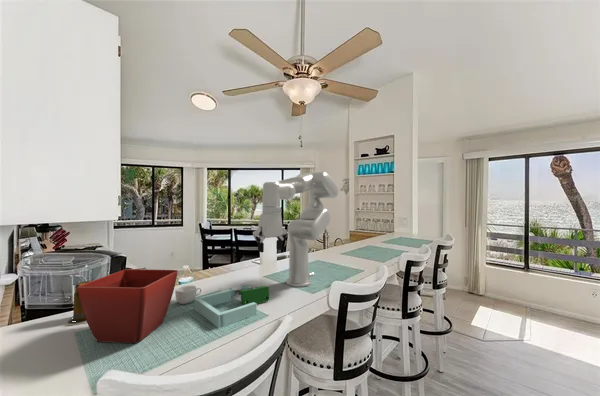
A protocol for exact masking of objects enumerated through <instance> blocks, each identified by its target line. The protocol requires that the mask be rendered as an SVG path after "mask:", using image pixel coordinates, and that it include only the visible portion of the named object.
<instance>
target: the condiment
mask: <svg viewBox="0 0 600 396" xmlns="http://www.w3.org/2000/svg"><path fill="white" fill-rule="evenodd" d="M91 281H92V280H86V281H81V282H78V283H76V284H75V292H74V293H73V313H72V314H73V316H72V317H73V319H72V318H71V319H69V321H67V323H66V324H65V325H64V326H66V327H67V326H76V325H77V326H78V325H83V324H88V323H87V321H86V318H85V316H84V313H83V309H82V306H81V302H80V297H79V293H78V286H80V285H82V284H85V283H88V282H91ZM72 321H76V322H72Z"/></svg>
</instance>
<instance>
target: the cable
mask: <svg viewBox="0 0 600 396" xmlns="http://www.w3.org/2000/svg"><path fill="white" fill-rule="evenodd" d="M249 289H254V287H249ZM239 290H242V289H241V288H240V289H239V288H238V289H235V293H234V294H237V293H238V291H239ZM238 294H239V293H238Z"/></svg>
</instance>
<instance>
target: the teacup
mask: <svg viewBox="0 0 600 396" xmlns="http://www.w3.org/2000/svg"><path fill="white" fill-rule="evenodd" d="M198 290H199V292H198ZM174 291H175V292H174V293H175V300H176V301H177V303H178V304H181V305H187V304H191V303H192V302H193V301H194V298H197V296H198V295H200V294H202V289H201V288H200V287H197V286H196V285H189V284H188V285H182V286H178V287H175V288H174ZM197 292H198V293H197Z"/></svg>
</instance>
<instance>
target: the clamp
mask: <svg viewBox="0 0 600 396" xmlns="http://www.w3.org/2000/svg"><path fill="white" fill-rule="evenodd" d="M238 290H239V289H238ZM238 295H239V296H240V300H241V301H240V302H241V306H243V305H247V304H250V303H253V302H255V303H257V305H258V304H262V303H263V304H264V303H267V302H269V301H270V299H271V297H270V296H271V295H270V287H269V286H265V285H264V286H256V287H255V288H254V287H253V289H244V290H239V291H238Z"/></svg>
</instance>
